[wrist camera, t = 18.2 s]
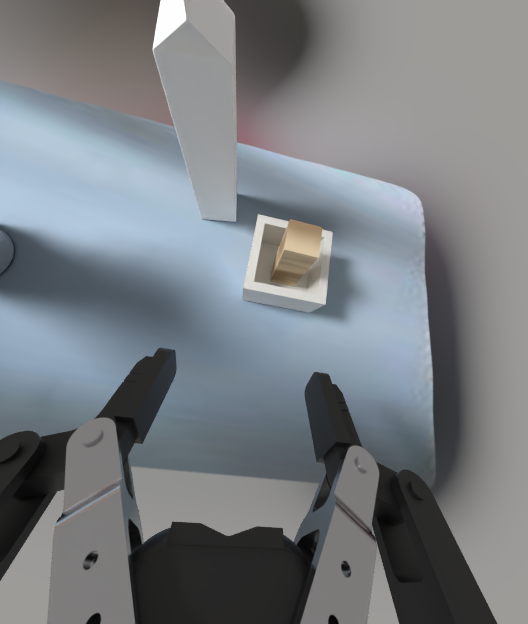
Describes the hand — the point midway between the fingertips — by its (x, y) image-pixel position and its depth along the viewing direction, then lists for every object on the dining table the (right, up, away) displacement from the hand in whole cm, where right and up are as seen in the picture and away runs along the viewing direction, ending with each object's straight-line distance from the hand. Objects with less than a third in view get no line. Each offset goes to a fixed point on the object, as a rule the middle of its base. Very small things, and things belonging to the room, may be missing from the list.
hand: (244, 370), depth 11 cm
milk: (-7, +22, +23) cm, 32 cm away
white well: (+4, +10, +21) cm, 24 cm away
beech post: (+4, +10, +20) cm, 23 cm away
